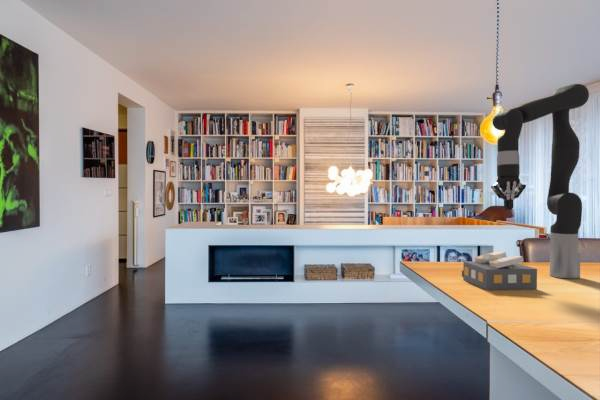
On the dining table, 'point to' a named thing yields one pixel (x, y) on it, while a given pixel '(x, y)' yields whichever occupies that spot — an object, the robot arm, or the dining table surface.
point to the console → (500, 276)
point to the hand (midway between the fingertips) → (508, 209)
